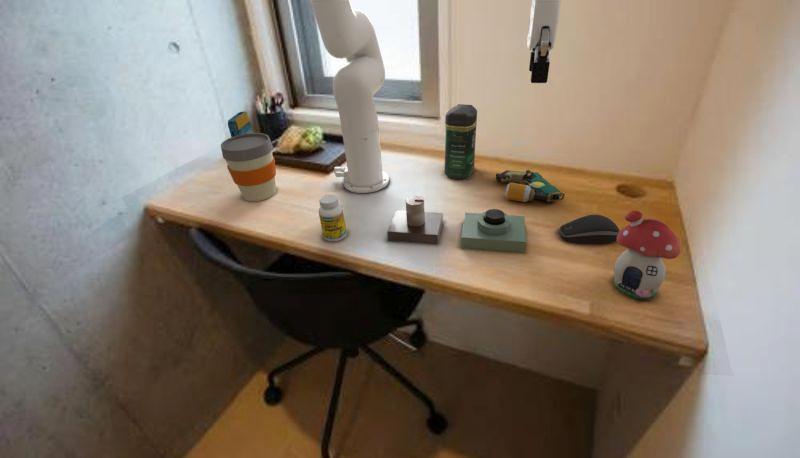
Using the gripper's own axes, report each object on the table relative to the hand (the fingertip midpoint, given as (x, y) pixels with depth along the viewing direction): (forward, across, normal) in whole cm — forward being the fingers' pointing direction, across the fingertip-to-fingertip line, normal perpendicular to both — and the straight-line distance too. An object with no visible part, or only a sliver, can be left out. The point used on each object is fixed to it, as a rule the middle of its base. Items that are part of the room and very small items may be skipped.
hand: (537, 76), depth 88 cm
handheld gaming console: (+29, -12, -83) cm, 89 cm away
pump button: (+25, +20, -7) cm, 32 cm away
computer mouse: (+29, +16, +13) cm, 36 cm away
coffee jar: (+29, -11, -17) cm, 36 cm away
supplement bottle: (+29, +24, -42) cm, 56 cm away
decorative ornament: (+29, +32, +18) cm, 47 cm away
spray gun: (+29, -3, +1) cm, 29 cm away
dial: (+26, +20, -24) cm, 41 cm away
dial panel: (+29, +20, -24) cm, 42 cm away
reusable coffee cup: (+29, +7, -70) cm, 76 cm away
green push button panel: (+29, +20, -7) cm, 36 cm away
